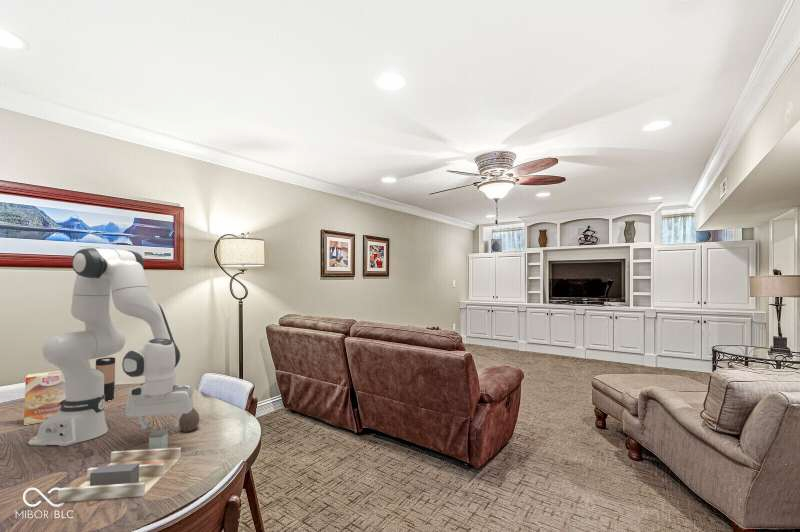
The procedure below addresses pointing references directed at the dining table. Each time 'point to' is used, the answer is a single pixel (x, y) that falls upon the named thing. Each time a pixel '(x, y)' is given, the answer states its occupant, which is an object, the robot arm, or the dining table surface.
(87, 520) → the dining table surface
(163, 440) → the grey rectangular block
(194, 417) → the vase
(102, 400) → the robot arm
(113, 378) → the travel mug
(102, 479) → the charcoal block
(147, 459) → the rack
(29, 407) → the coffeecake box
